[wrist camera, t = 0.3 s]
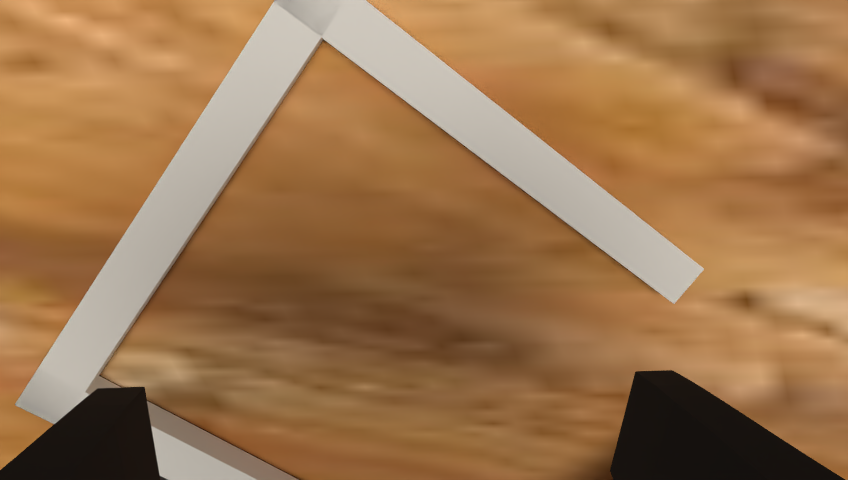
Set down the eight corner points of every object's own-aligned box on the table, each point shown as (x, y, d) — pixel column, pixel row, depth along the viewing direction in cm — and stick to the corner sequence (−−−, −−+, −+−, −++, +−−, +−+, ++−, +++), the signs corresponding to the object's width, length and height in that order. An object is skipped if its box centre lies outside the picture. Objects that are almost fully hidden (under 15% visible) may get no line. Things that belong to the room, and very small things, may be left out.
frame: (415, 578, 23) (417, 601, 22) (32, 387, 19) (14, 404, 18) (687, 259, 20) (704, 268, 19) (308, -40, 16) (305, -48, 15)
